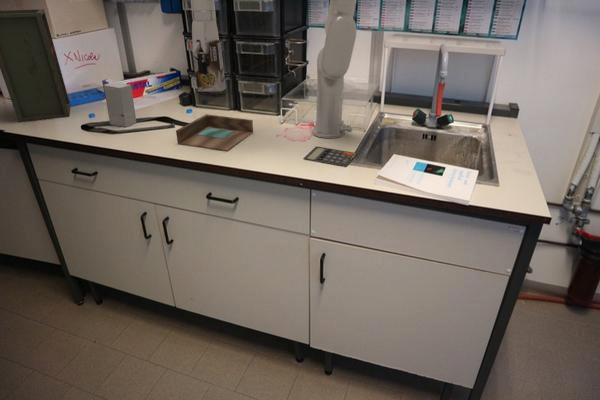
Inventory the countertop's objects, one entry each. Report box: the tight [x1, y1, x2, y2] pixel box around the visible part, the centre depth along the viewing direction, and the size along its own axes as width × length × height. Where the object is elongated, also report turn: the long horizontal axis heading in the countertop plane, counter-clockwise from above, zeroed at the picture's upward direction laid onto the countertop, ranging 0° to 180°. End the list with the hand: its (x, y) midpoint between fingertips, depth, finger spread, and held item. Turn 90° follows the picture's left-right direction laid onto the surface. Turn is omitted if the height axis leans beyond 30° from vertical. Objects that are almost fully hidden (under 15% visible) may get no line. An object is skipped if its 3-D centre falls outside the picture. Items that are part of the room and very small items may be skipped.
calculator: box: [303, 145, 355, 168], centre depth 137 cm, size 12×1×15 cm
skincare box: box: [103, 81, 137, 128], centre depth 162 cm, size 8×7×16 cm
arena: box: [175, 113, 254, 152], centre depth 150 cm, size 20×20×5 cm
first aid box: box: [0, 8, 71, 123], centre depth 167 cm, size 18×18×40 cm
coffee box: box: [190, 39, 226, 92], centre depth 142 cm, size 9×6×16 cm
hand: (209, 70), depth 143 cm, fingers closed on coffee box, 7 cm apart
